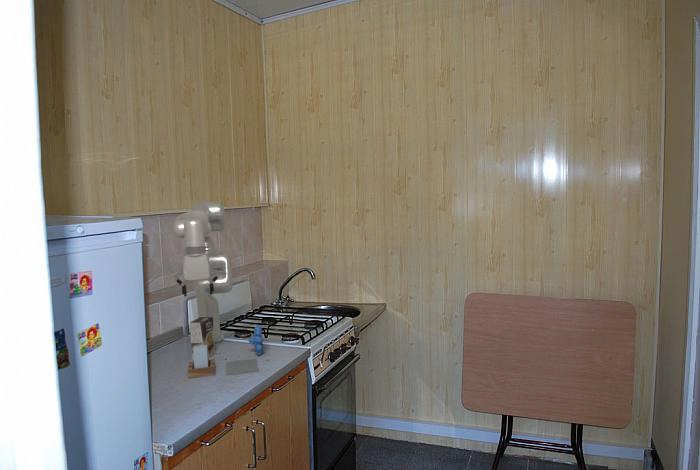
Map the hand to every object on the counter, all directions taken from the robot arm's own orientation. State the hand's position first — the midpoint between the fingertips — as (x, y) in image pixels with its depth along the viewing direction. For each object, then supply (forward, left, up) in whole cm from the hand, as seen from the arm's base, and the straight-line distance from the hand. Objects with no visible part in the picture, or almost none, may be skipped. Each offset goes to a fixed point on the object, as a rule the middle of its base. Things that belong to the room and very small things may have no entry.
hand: (198, 294), depth 186 cm
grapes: (-10, +22, -30) cm, 38 cm away
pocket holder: (+4, 0, -30) cm, 30 cm away
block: (+4, 0, -30) cm, 30 cm away
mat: (+4, +15, -30) cm, 33 cm away
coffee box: (-15, 0, -30) cm, 34 cm away
